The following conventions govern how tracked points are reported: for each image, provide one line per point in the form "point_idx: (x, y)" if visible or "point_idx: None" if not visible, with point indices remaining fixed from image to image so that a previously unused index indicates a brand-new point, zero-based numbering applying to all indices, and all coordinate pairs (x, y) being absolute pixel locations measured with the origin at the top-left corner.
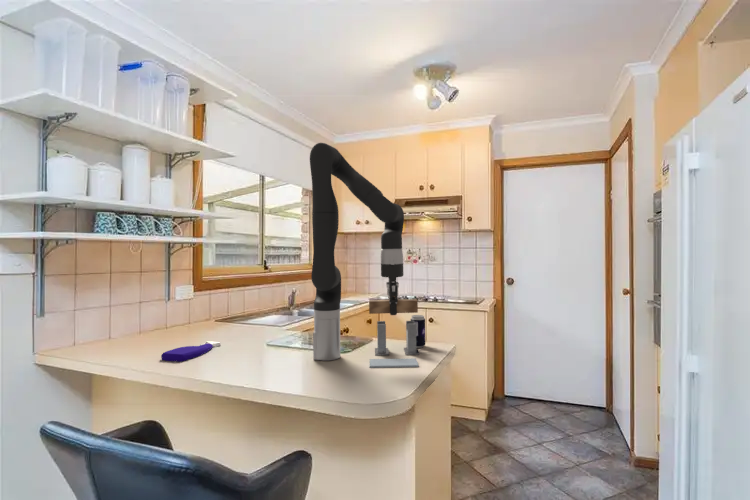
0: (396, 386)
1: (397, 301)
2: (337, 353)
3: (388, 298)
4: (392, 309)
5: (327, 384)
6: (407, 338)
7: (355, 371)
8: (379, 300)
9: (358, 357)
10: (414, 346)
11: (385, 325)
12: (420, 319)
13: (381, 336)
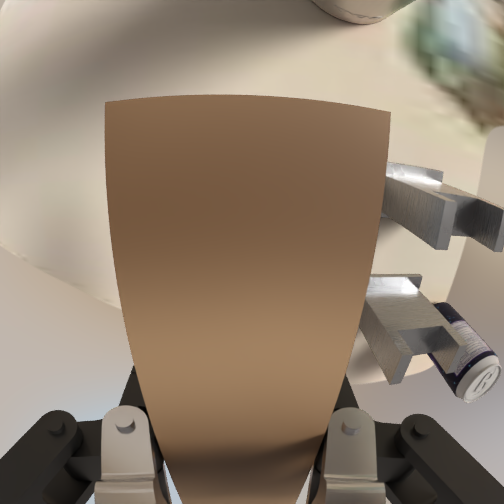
0: (26, 216)
1: (172, 473)
2: (328, 2)
3: (418, 417)
4: (135, 379)
5: (45, 26)
6: (392, 312)
7: (149, 76)
8: (254, 327)
9: (345, 88)
10: (360, 319)
11: (432, 245)
12: (458, 389)
13: (406, 204)
